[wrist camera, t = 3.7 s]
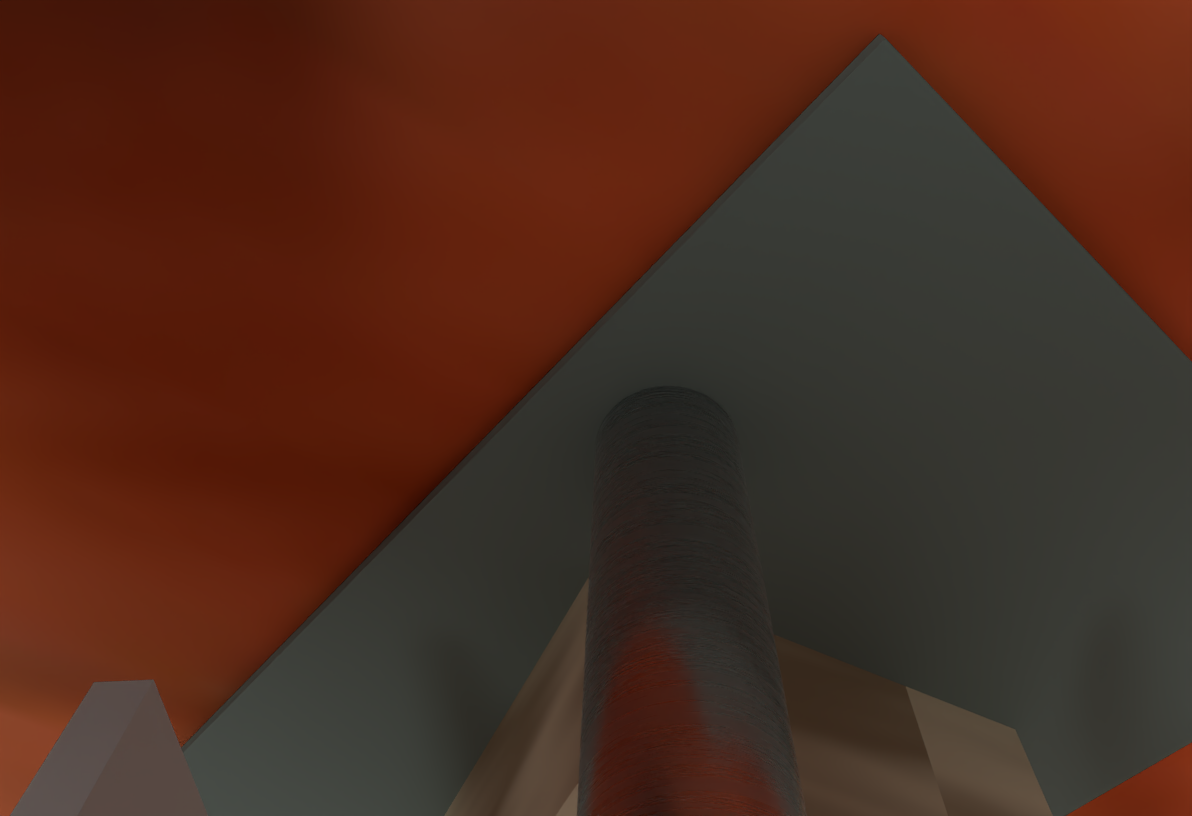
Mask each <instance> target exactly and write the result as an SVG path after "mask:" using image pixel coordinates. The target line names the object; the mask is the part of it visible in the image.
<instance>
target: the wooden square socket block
mask: <svg viewBox="0 0 1192 816" xmlns="http://www.w3.org/2000/svg"><path fill="white" fill-rule="evenodd" d="M588 584H589V577H588V579H587V581H586V582H585V584H584V586H583V587H582V589H581V591H580V592H579V594H578V596H577V597H576V599H575V601H574V602H573V604H572V606H571V607H570V609H569V610H568V612H567V614H566V615H565V617H564V619H563V620H562V622H561V624H560V625H559V627H558V629H557V630H556V632H555V634H554V635H553V637H552V639H551V640H550V642H549V644H548V645H547V647H546V649H545V650H544V652H543V653H542V655H541V657H540V658H539V660H538V662H537V663H536V665H535V667H534V668H533V670H532V672H531V673H530V675H529V677H528V678H527V680H526V682H525V683H524V685H523V687H522V688H521V690H520V692H519V693H518V695H517V696H516V698H515V700H514V701H513V703H512V705H511V706H510V708H509V710H508V711H507V713H506V715H505V716H504V718H503V720H502V721H501V723H500V725H499V726H498V728H497V730H496V731H495V733H494V735H493V736H492V738H491V739H490V741H489V743H488V744H487V746H486V748H485V749H484V751H483V753H482V754H481V756H480V758H479V759H478V761H477V763H476V764H475V766H474V768H473V769H472V771H471V773H470V774H469V776H468V778H467V779H466V781H465V782H464V784H463V786H462V787H461V789H460V791H459V792H458V794H457V796H456V797H455V799H454V801H453V802H452V804H451V806H450V807H449V809H448V811H447V812H446V814H445V816H577V799H578V779H579V760H580V740H581V721H582V701H583V682H584V662H585V643H586V623H587V604H588ZM774 639H775V644H776V650H777V655H778V661H779V666H780V672H781V677H782V682H783V688H784V693H785V699H786V704H787V710H788V715H789V720H790V726H791V731H792V737H793V742H794V748H795V753H796V759H797V764H798V769H799V775H800V780H801V786H802V791H803V797H804V802H805V807H806V813H807V816H1053V815H1052V813H1051V810H1050V808H1049V806H1048V804H1047V801H1046V799H1045V797H1044V794H1043V792H1042V790H1041V787H1040V785H1039V783H1038V781H1037V778H1036V776H1035V774H1034V771H1033V769H1032V767H1031V764H1030V762H1029V760H1028V758H1027V755H1026V753H1025V751H1024V748H1023V746H1022V744H1021V741H1020V739H1019V737H1018V735H1017V732H1016V730H1015V729H1013V728H1010V727H1008V726H1005V725H1003V724H1000V723H998V722H995V721H993V720H990V719H987V718H985V717H982V716H980V715H977V714H975V713H972V712H970V711H967V710H965V709H962V708H959V707H957V706H954V705H952V704H949V703H947V702H944V701H942V700H939V699H937V698H934V697H932V696H929V695H926V694H924V693H921V692H919V691H916V690H914V689H911V688H909V687H906V686H904V685H901V684H899V683H896V682H893V681H891V680H888V679H886V678H883V677H881V676H878V675H876V674H873V673H871V672H868V671H865V670H863V669H860V668H858V667H855V666H853V665H850V664H848V663H845V662H843V661H840V660H838V659H835V658H832V657H830V656H827V655H825V654H822V653H820V652H817V651H815V650H812V649H810V648H807V647H805V646H802V645H799V644H797V643H794V642H792V641H789V640H787V639H784V638H782V637H779V636H777V635H774Z"/></svg>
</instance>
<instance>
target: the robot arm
mask: <svg viewBox="0 0 1192 816" xmlns="http://www.w3.org/2000/svg"><path fill="white" fill-rule="evenodd" d="M10 816H208V814H207V812H206V809H205V807H204V804H203V802H202V799H201V797H200V794H199V792H198V789H197V787H196V784H195V782H194V779H193V777H192V774H191V772H190V769H189V767H188V764H187V762H186V759H185V757H184V754H183V752H182V749H181V747H180V744H179V742H178V739H177V737H176V734H175V732H174V729H173V727H172V724H171V722H170V719H169V717H168V714H167V712H166V709H165V707H164V704H163V702H162V699H161V697H160V694H159V692H158V689H157V687H156V684H155V682H154V680H134V681H110V682H94V683H93V685H92V686H91V688H90V689H89V691H88V693H87V694H86V696H85V697H84V699H83V700H82V702H81V704H80V705H79V707H78V708H77V710H76V712H75V713H74V715H73V716H72V718H71V720H70V721H69V723H68V724H67V726H66V727H65V729H64V731H63V732H62V734H61V735H60V737H59V739H58V740H57V742H56V743H55V745H54V747H53V748H52V750H51V751H50V753H49V754H48V756H47V758H46V759H45V761H44V762H43V764H42V766H41V767H40V769H39V770H38V772H37V774H36V775H35V777H34V778H33V780H32V781H31V783H30V785H29V786H28V788H27V789H26V791H25V793H24V794H23V796H22V797H21V799H20V801H19V802H18V804H17V805H16V807H15V808H14V810H13V812H12V813H11V815H10Z"/></svg>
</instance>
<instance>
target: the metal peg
mask: <svg viewBox="0 0 1192 816" xmlns="http://www.w3.org/2000/svg"><path fill="white" fill-rule="evenodd" d="M577 816H807V813H806V807H805V802H804V797H803V791H802V786H801V780H800V775H799V769H798V764H797V759H796V753H795V748H794V742H793V737H792V731H791V726H790V720H789V715H788V710H787V704H786V699H785V693H784V688H783V682H782V677H781V672H780V666H779V661H778V655H777V650H776V644H775V639H774V633H773V628H772V623H771V617H770V612H769V606H768V601H767V595H766V590H765V585H764V579H763V574H762V568H761V563H760V557H759V552H758V547H757V541H756V536H755V530H754V525H753V519H752V514H751V508H750V503H749V498H748V492H747V487H746V481H745V476H744V470H743V465H742V460H741V454H740V449H739V443H738V438H737V433H736V429H735V427H734V424H733V422H732V420H731V418H730V417H729V415H728V414H727V413H726V411H725V410H724V409H723V408H722V407H721V406H720V405H719V404H718V403H717V402H716V401H714V400H713V399H711V398H710V397H708V396H706V395H705V394H703V393H701V392H698V391H695V390H693V389H689V388H685V387H679V386H658V387H651V388H647V389H643V390H641V391H638V392H635V393H633V394H631V395H629V396H627V397H626V398H624V399H623V400H621V401H620V402H619V403H617V404H616V405H615V406H614V407H613V408H612V409H611V410H610V411H609V413H608V414H607V415H606V417H605V418H604V420H603V421H602V423H601V425H600V428H599V430H598V434H597V438H596V448H595V467H594V487H593V506H592V526H591V545H590V565H589V584H588V604H587V623H586V643H585V662H584V682H583V701H582V721H581V740H580V760H579V779H578V799H577Z"/></svg>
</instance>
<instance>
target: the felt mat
mask: <svg viewBox="0 0 1192 816" xmlns="http://www.w3.org/2000/svg"><path fill="white" fill-rule="evenodd" d="M658 386H679V387H685V388H689V389H693V390H695V391H698V392H701V393H703V394H705V395H706V396H708V397H710V398H711V399H713V400H714V401H716V402H717V403H718V404H719V405H720V406H721V407H722V408H723V409H724V410H725V411H726V413H727V414H728V415H729V417H730V418H731V420H732V422H733V424H734V427H735V429H736V433H737V438H738V443H739V449H740V454H741V460H742V465H743V470H744V476H745V481H746V487H747V492H748V498H749V503H750V508H751V514H752V519H753V525H754V530H755V536H756V541H757V547H758V552H759V557H760V563H761V568H762V574H763V579H764V585H765V590H766V595H767V601H768V606H769V612H770V617H771V623H772V628H773V633H774V635H777V636H779V637H782V638H784V639H787V640H789V641H792V642H794V643H797V644H799V645H802V646H805V647H807V648H810V649H812V650H815V651H817V652H820V653H822V654H825V655H827V656H830V657H832V658H835V659H838V660H840V661H843V662H845V663H848V664H850V665H853V666H855V667H858V668H860V669H863V670H865V671H868V672H871V673H873V674H876V675H878V676H881V677H883V678H886V679H888V680H891V681H893V682H896V683H899V684H901V685H904V686H906V687H909V688H911V689H914V690H916V691H919V692H921V693H924V694H926V695H929V696H932V697H934V698H937V699H939V700H942V701H944V702H947V703H949V704H952V705H954V706H957V707H959V708H962V709H965V710H967V711H970V712H972V713H975V714H977V715H980V716H982V717H985V718H987V719H990V720H993V721H995V722H998V723H1000V724H1003V725H1005V726H1008V727H1010V728H1013V729H1015V730H1016V732H1017V735H1018V737H1019V739H1020V741H1021V744H1022V746H1023V748H1024V751H1025V753H1026V755H1027V758H1028V760H1029V762H1030V764H1031V767H1032V769H1033V771H1034V774H1035V776H1036V778H1037V781H1038V783H1039V785H1040V787H1041V790H1042V792H1043V794H1044V797H1045V799H1046V801H1047V804H1048V806H1049V808H1050V810H1051V813H1052V815H1053V816H1066V815H1067V814H1069V813H1071V812H1073V811H1074V810H1076V809H1078V808H1079V807H1081V806H1083V805H1085V804H1086V803H1088V802H1090V801H1092V800H1093V799H1095V798H1097V797H1098V796H1100V795H1102V794H1104V793H1105V792H1107V791H1109V790H1110V789H1112V788H1114V787H1116V786H1117V785H1119V784H1121V783H1123V782H1124V781H1126V780H1128V779H1129V778H1131V777H1133V776H1135V775H1136V774H1138V773H1140V772H1141V771H1143V770H1145V769H1147V768H1148V767H1150V766H1152V765H1154V764H1155V763H1157V762H1159V761H1160V760H1162V759H1164V758H1166V757H1167V756H1169V755H1171V754H1172V753H1174V752H1176V751H1178V750H1179V749H1181V748H1183V747H1184V746H1186V745H1188V744H1190V743H1191V742H1192V362H1191V360H1190V359H1189V358H1188V357H1187V356H1186V355H1185V354H1184V353H1183V352H1182V351H1181V350H1180V349H1179V348H1178V347H1177V346H1176V345H1175V344H1174V343H1173V341H1172V340H1171V339H1170V338H1169V337H1168V336H1167V335H1166V334H1165V333H1164V332H1163V331H1162V330H1161V329H1160V328H1159V327H1158V326H1157V325H1156V324H1155V322H1154V321H1153V320H1152V319H1151V318H1150V317H1149V316H1148V315H1147V314H1146V313H1145V312H1144V311H1143V310H1142V309H1141V308H1140V307H1139V306H1138V304H1137V303H1136V302H1135V301H1134V300H1133V299H1132V298H1131V297H1130V296H1129V295H1128V294H1127V293H1126V292H1125V291H1124V290H1123V289H1122V288H1121V287H1120V285H1119V284H1118V283H1117V282H1116V281H1115V280H1114V279H1113V278H1112V277H1111V276H1110V275H1109V274H1108V273H1107V272H1106V271H1105V270H1104V269H1103V268H1102V266H1101V265H1100V264H1099V263H1098V262H1097V261H1096V260H1095V259H1094V258H1093V257H1092V256H1091V255H1090V254H1089V253H1088V252H1087V251H1086V250H1085V249H1084V247H1083V246H1082V245H1081V244H1080V243H1079V242H1078V241H1077V240H1076V239H1075V238H1074V237H1073V236H1072V235H1071V234H1070V233H1069V232H1068V231H1067V230H1066V228H1065V227H1064V226H1063V225H1062V224H1061V223H1060V222H1059V221H1058V220H1057V219H1056V218H1055V217H1054V216H1053V215H1052V214H1051V213H1050V212H1049V210H1048V209H1047V208H1046V207H1045V206H1044V205H1043V204H1042V203H1041V202H1040V201H1039V200H1038V199H1037V198H1036V197H1035V196H1034V195H1033V194H1032V193H1031V191H1030V190H1029V189H1028V188H1027V187H1026V186H1025V185H1024V184H1023V183H1022V182H1021V181H1020V180H1019V179H1018V178H1017V177H1016V176H1015V175H1014V174H1013V172H1012V171H1011V170H1010V169H1009V168H1008V167H1007V166H1006V165H1005V164H1004V163H1003V162H1002V161H1001V160H1000V159H999V158H998V157H997V156H996V155H995V153H994V152H993V151H992V150H991V149H990V148H989V147H988V146H987V145H986V144H985V143H984V142H983V141H982V140H981V139H980V138H979V137H978V135H977V134H976V133H975V132H974V131H973V130H972V129H971V128H970V127H969V126H968V125H967V124H966V123H965V122H964V121H963V120H962V119H961V118H960V116H959V115H958V114H957V113H956V112H955V111H954V110H953V109H952V108H951V107H950V106H949V105H948V104H947V103H946V102H945V101H944V100H943V99H942V97H941V96H940V95H939V94H938V93H937V92H936V91H935V90H934V89H933V88H932V87H931V86H930V85H929V84H928V83H927V82H926V81H925V80H924V78H923V77H922V76H921V75H920V74H919V73H918V72H917V71H916V70H915V69H914V68H913V67H912V66H911V65H910V64H909V63H908V62H907V61H906V59H905V58H904V57H903V56H902V55H901V54H900V53H899V52H898V51H897V50H896V49H895V48H894V47H893V46H892V45H891V44H890V43H889V41H888V40H887V39H886V38H884V37H883V36H882V35H881V34H879V35H878V36H877V37H876V38H875V39H874V40H873V41H872V42H871V43H870V44H869V45H868V46H867V47H866V48H865V49H864V50H863V51H862V52H861V53H860V54H859V55H858V56H857V57H856V58H855V59H854V60H853V61H852V62H851V63H850V64H849V65H848V66H847V67H846V69H845V70H844V71H843V72H842V73H841V74H840V75H839V76H838V77H837V78H836V79H835V80H834V81H833V82H832V83H831V84H830V85H829V86H828V87H827V88H826V89H825V90H824V91H823V92H822V93H821V94H820V95H819V96H818V97H817V98H816V99H815V100H814V101H813V102H812V103H811V104H810V105H809V106H808V107H807V108H806V109H805V110H804V111H803V112H802V113H801V115H800V116H799V117H798V118H797V119H796V120H795V121H794V122H793V123H792V124H791V125H790V126H789V127H788V128H787V129H786V130H785V131H784V132H783V133H782V134H781V135H780V136H779V137H778V138H777V139H776V140H775V141H774V142H773V143H772V144H771V145H770V146H769V147H768V148H767V149H766V150H765V151H764V152H763V153H762V154H761V155H760V156H759V157H758V158H757V160H756V161H755V162H754V163H753V164H752V165H751V166H750V167H749V168H748V169H747V170H746V171H745V172H744V173H743V174H742V175H741V176H740V177H739V178H738V179H737V180H736V181H735V182H734V183H733V184H732V185H731V186H730V187H729V188H728V189H727V190H726V191H725V192H724V193H723V194H722V195H721V196H720V197H719V198H718V199H717V200H716V201H715V202H714V203H713V204H712V206H711V207H710V208H709V209H708V210H707V211H706V212H705V213H704V214H703V215H702V216H701V217H700V218H699V219H698V220H697V221H696V222H695V223H694V224H693V225H692V226H691V227H690V228H689V229H688V230H687V231H686V232H685V233H684V234H683V235H682V236H681V237H680V238H679V239H678V240H677V241H676V242H675V243H674V244H673V245H672V246H671V247H670V248H669V249H668V251H667V252H666V253H665V254H664V255H663V256H662V257H661V258H660V259H659V260H658V261H657V262H656V263H655V264H654V265H653V266H652V267H651V268H650V269H649V270H648V271H647V272H646V273H645V274H644V275H643V276H642V277H641V278H640V279H639V280H638V281H637V282H636V283H635V284H634V285H633V286H632V287H631V288H630V289H629V290H628V291H627V292H626V293H625V294H624V295H623V297H622V298H621V299H620V300H619V301H618V302H617V303H616V304H615V305H614V306H613V307H612V308H611V309H610V310H609V311H608V312H607V313H606V314H605V315H604V316H603V317H602V318H601V319H600V320H599V321H598V322H597V323H596V324H595V325H594V326H593V327H592V328H591V329H590V330H589V331H588V332H587V333H586V334H585V335H584V336H583V337H582V338H581V339H580V340H579V342H578V343H577V344H576V345H575V346H574V347H573V348H572V349H571V350H570V351H569V352H568V353H567V354H566V355H565V356H564V357H563V358H562V359H561V360H560V361H559V362H558V363H557V364H556V365H555V366H554V367H553V368H552V369H551V370H550V371H549V372H548V373H547V374H546V375H545V376H544V377H543V378H542V379H541V380H540V381H539V382H538V383H537V384H536V385H535V386H534V388H533V389H532V390H531V391H530V392H529V393H528V394H527V395H526V396H525V397H524V398H523V399H522V400H521V401H520V402H519V403H518V404H517V405H516V406H515V407H514V408H513V409H512V410H511V411H510V412H509V413H508V414H507V415H506V416H505V417H504V418H503V419H502V420H501V421H500V422H499V423H498V424H497V425H496V426H495V427H494V428H493V429H492V430H491V431H490V432H489V434H488V435H487V436H486V437H485V438H484V439H483V440H482V441H481V442H480V443H479V444H478V445H477V446H476V447H475V448H474V449H473V450H472V451H471V452H470V453H469V454H468V455H467V456H466V457H465V458H464V459H463V460H462V461H461V462H460V463H459V464H458V465H457V466H456V467H455V468H454V469H453V470H452V471H451V472H450V473H449V474H448V475H447V476H446V477H445V479H444V480H443V481H442V482H441V483H440V484H439V485H438V486H437V487H436V488H435V489H434V490H433V491H432V492H431V493H430V494H429V495H428V496H427V497H426V498H425V499H424V500H423V501H422V502H421V503H420V504H419V505H418V506H417V507H416V508H415V509H414V510H413V511H412V512H411V513H410V514H409V515H408V516H407V517H406V518H405V519H404V520H403V521H402V522H401V523H400V525H399V526H398V527H397V528H396V529H395V530H394V531H393V532H392V533H391V534H390V535H389V536H388V537H387V538H386V539H385V540H384V541H383V542H382V543H381V544H380V545H379V546H378V547H377V548H376V549H375V550H374V551H373V552H372V553H371V554H370V555H369V556H368V557H367V558H366V559H365V560H364V561H363V562H362V563H361V564H360V565H359V566H358V567H357V568H356V570H355V571H354V572H353V573H352V574H351V575H350V576H349V577H348V578H347V579H346V580H345V581H344V582H343V583H342V584H341V585H340V586H339V587H338V588H337V589H336V590H335V591H334V592H333V593H332V594H331V595H330V596H329V597H328V598H327V599H326V600H325V601H324V602H323V603H322V604H321V605H320V606H319V607H318V608H317V609H316V610H315V611H314V612H313V613H312V614H311V616H310V617H309V618H308V619H307V620H306V621H305V622H304V623H303V624H302V625H301V626H300V627H299V628H298V629H297V630H296V631H295V632H294V633H293V634H292V635H291V636H290V637H289V638H288V639H287V640H286V641H285V642H284V643H283V644H282V645H281V646H280V647H279V648H278V649H277V650H276V651H275V652H274V653H273V654H272V655H271V656H270V657H269V658H268V659H267V661H266V662H265V663H264V664H263V665H262V666H261V667H260V668H259V669H258V670H257V671H256V672H255V673H254V674H253V675H252V676H251V677H250V678H249V679H248V680H247V681H246V682H245V683H244V684H243V685H242V686H241V687H240V688H239V689H238V690H237V691H236V692H235V693H234V694H233V695H232V696H231V697H230V698H229V699H228V700H227V701H226V702H225V703H224V704H223V705H222V707H221V708H220V709H219V710H218V711H217V712H216V713H215V714H214V715H213V716H212V717H211V718H210V719H209V720H208V721H207V722H206V723H205V724H204V725H203V726H202V727H201V728H200V729H199V730H198V731H197V732H196V733H195V734H194V735H193V736H192V737H191V738H190V739H189V740H188V741H187V742H186V743H185V744H184V745H183V746H182V747H181V749H182V752H183V754H184V757H185V759H186V762H187V764H188V767H189V769H190V772H191V774H192V777H193V779H194V782H195V784H196V787H197V789H198V792H199V794H200V797H201V799H202V802H203V804H204V807H205V809H206V812H207V814H208V816H445V814H446V812H447V811H448V809H449V807H450V806H451V804H452V802H453V801H454V799H455V797H456V796H457V794H458V792H459V791H460V789H461V787H462V786H463V784H464V782H465V781H466V779H467V778H468V776H469V774H470V773H471V771H472V769H473V768H474V766H475V764H476V763H477V761H478V759H479V758H480V756H481V754H482V753H483V751H484V749H485V748H486V746H487V744H488V743H489V741H490V739H491V738H492V736H493V735H494V733H495V731H496V730H497V728H498V726H499V725H500V723H501V721H502V720H503V718H504V716H505V715H506V713H507V711H508V710H509V708H510V706H511V705H512V703H513V701H514V700H515V698H516V696H517V695H518V693H519V692H520V690H521V688H522V687H523V685H524V683H525V682H526V680H527V678H528V677H529V675H530V673H531V672H532V670H533V668H534V667H535V665H536V663H537V662H538V660H539V658H540V657H541V655H542V653H543V652H544V650H545V649H546V647H547V645H548V644H549V642H550V640H551V639H552V637H553V635H554V634H555V632H556V630H557V629H558V627H559V625H560V624H561V622H562V620H563V619H564V617H565V615H566V614H567V612H568V610H569V609H570V607H571V606H572V604H573V602H574V601H575V599H576V597H577V596H578V594H579V592H580V591H581V589H582V587H583V586H584V584H585V582H586V581H587V579H588V577H589V565H590V545H591V526H592V506H593V487H594V467H595V448H596V438H597V434H598V430H599V428H600V425H601V423H602V421H603V420H604V418H605V417H606V415H607V414H608V413H609V411H610V410H611V409H612V408H613V407H614V406H615V405H616V404H617V403H619V402H620V401H621V400H623V399H624V398H626V397H627V396H629V395H631V394H633V393H635V392H638V391H641V390H643V389H647V388H651V387H658Z"/></svg>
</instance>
